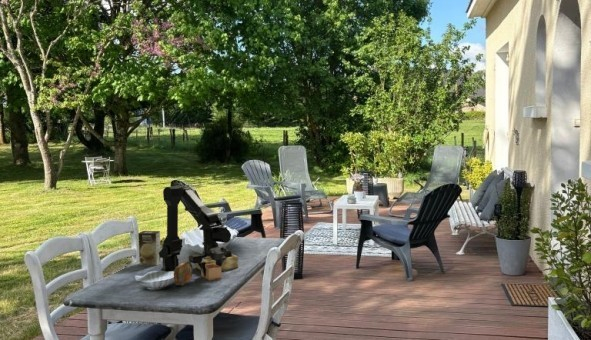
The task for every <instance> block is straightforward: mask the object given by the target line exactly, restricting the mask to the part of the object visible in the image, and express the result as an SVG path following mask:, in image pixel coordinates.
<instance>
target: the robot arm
mask: <svg viewBox="0 0 591 340" xmlns="http://www.w3.org/2000/svg"><path fill="white" fill-rule="evenodd" d="M162 195H163V201H164V203H165V204H166V236H165V238H164V240H163V241H162V242H163V243H162V248H160V252H159V256H160V258H161V260H162V267H161V269H162V270H163V271H165V272H170V271H174V270H175V268H176V267H177V266H178V265H180V264H179V263H180V262H179V258H178V256H180V255H181V251H182V248H183V238H180V236H179V231H178V230H179V229H178V228H179V204H180V202H181V200H182V198H183V199H184V201H186V202H187V204H188V205H189V206H190V207H191V209H192V210H194V212H195V213H196V215H197V216H196V217H197V219H198V221H199V223H200V224H201V226H200V227H199V231H202V236H203V237H202V239H203V241H202V243H201V245H202V246H203V251H202V254H203V255H201V254H199V253H193V254H190V255H189V256H188V261H189V262H191V264H195V263H198V265H199V267H200V269H201V271H202V273H203V275H204V276H206V269H205V264H206V262H204V259H208V258H212V260H216V265H218V266H220V267H221V265H222V263H223V261H224V260H226V259H227V258H228V257H232V254H233V252H232V251H231V250H230V249H227V247H226V246H221V247H219V243H222V244H227V243H229V242H230V241H231V238H232V234H231V231H230V230H229V229H228V227H227V226H224V225H223V223H222V221H221V220H220V218H219V215H218V213H217V212H215V210H213V209H212V208H210V207H207V206H206V205H205V204H204V203H203V201H202V200H201V199H200V198H199V197H198V196H197V194H195V193H194V191H193V190H192V188H191V186H182V187H181V186H179V185H171V186H166V187H164V189H163V190H162ZM207 256H208V257H207ZM225 257H226V258H225ZM201 271H200V272H201Z"/></svg>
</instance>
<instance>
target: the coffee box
mask: <svg viewBox="0 0 591 340" xmlns="http://www.w3.org/2000/svg"><path fill="white" fill-rule="evenodd" d="M160 251H161V231H159V230H142V231H140V232H139V233H138V255H139V256H138V257H139V260H138V261H139V266H158V265H159V264H161V263H162V258H160V256H159V252H160Z"/></svg>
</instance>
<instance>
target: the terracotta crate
mask: <svg viewBox="0 0 591 340" xmlns="http://www.w3.org/2000/svg"><path fill="white" fill-rule="evenodd" d="M205 269H206V276H204V275H203V273H202V271H200V273H201V274H200V275H201V277H202V278H204V279H206V280H207V281H213V280H219V279H222V278H223V277H222V271H221V267H220V266H218V265H216V264H207V265H205Z"/></svg>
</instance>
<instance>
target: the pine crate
mask: <svg viewBox="0 0 591 340" xmlns="http://www.w3.org/2000/svg"><path fill="white" fill-rule="evenodd" d="M207 257H208V256H207ZM225 258H226V257H225ZM204 262H206V264H205V265H207V264H216V260H212V258H208V259H204ZM194 265H195V266H194V268H195V269H197V270H198V271H200V272H201V269H200V267H199V265H198V263H194ZM238 268H239V256H238V255H235V254H234V253H232V257H228V258H227V259H226V260H224V261H223V263H222V265H221V272H223V271H228V270H234V269H238Z"/></svg>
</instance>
